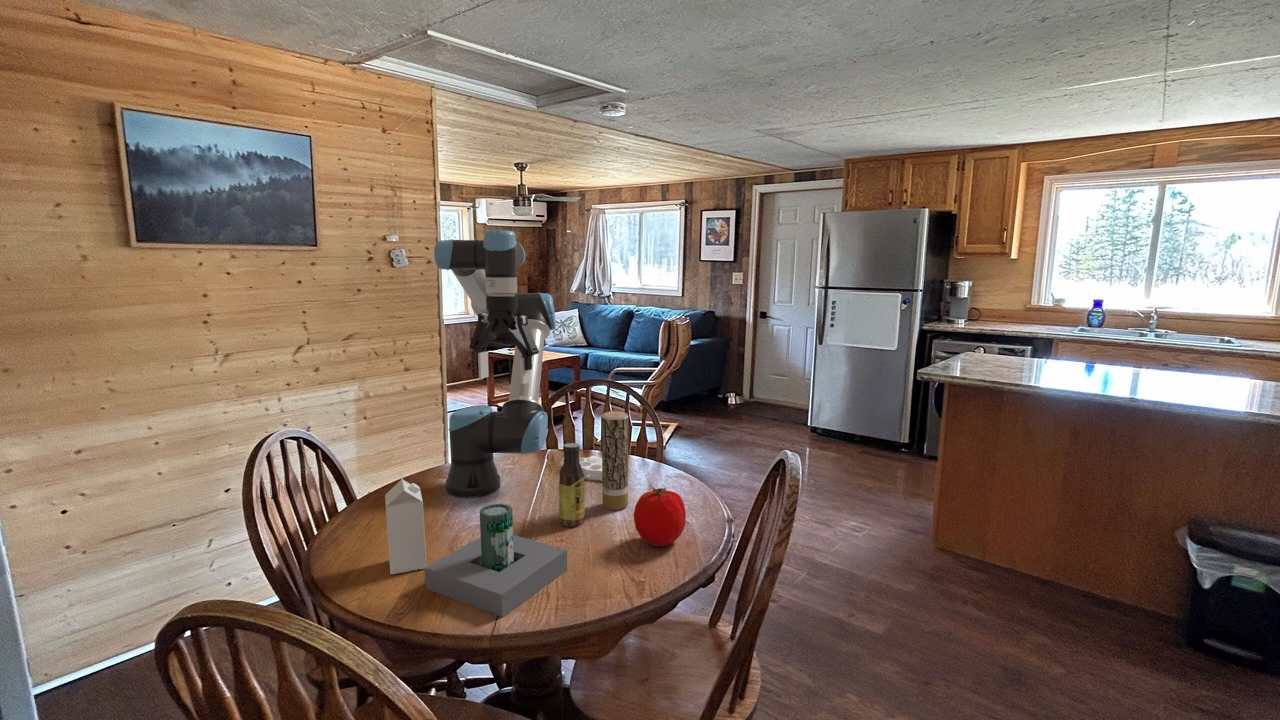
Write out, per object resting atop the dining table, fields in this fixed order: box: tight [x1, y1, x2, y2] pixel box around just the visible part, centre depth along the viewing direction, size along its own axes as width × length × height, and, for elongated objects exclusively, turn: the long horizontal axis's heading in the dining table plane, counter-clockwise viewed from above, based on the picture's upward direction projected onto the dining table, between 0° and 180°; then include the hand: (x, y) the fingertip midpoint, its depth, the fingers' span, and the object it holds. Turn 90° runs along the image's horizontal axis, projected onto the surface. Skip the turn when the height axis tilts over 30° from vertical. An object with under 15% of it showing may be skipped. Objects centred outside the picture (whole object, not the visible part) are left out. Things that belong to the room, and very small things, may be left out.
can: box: [479, 503, 514, 572], centre depth 124 cm, size 6×6×15 cm
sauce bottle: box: [558, 442, 585, 527], centre depth 151 cm, size 6×6×20 cm
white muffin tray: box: [579, 455, 602, 482], centre depth 188 cm, size 3×18×15 cm
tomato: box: [633, 485, 687, 547], centre depth 141 cm, size 12×12×13 cm
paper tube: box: [601, 410, 629, 511], centre depth 161 cm, size 7×7×25 cm
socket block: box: [423, 534, 568, 618], centre depth 125 cm, size 20×20×4 cm
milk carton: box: [384, 474, 427, 575], centre depth 130 cm, size 7×7×19 cm
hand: (504, 380), depth 153 cm, fingers open, 13 cm apart
